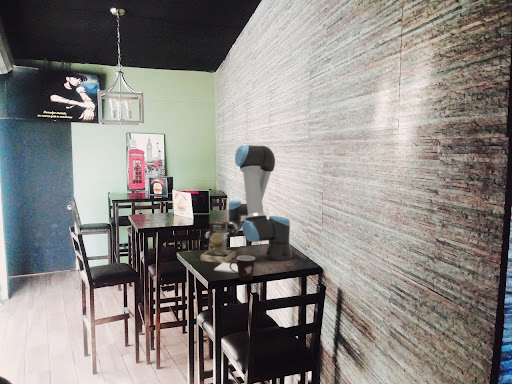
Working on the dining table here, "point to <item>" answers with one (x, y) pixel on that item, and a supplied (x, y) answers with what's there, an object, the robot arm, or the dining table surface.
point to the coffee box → (217, 236)
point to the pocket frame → (226, 259)
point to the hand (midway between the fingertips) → (215, 236)
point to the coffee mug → (245, 267)
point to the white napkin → (227, 267)
